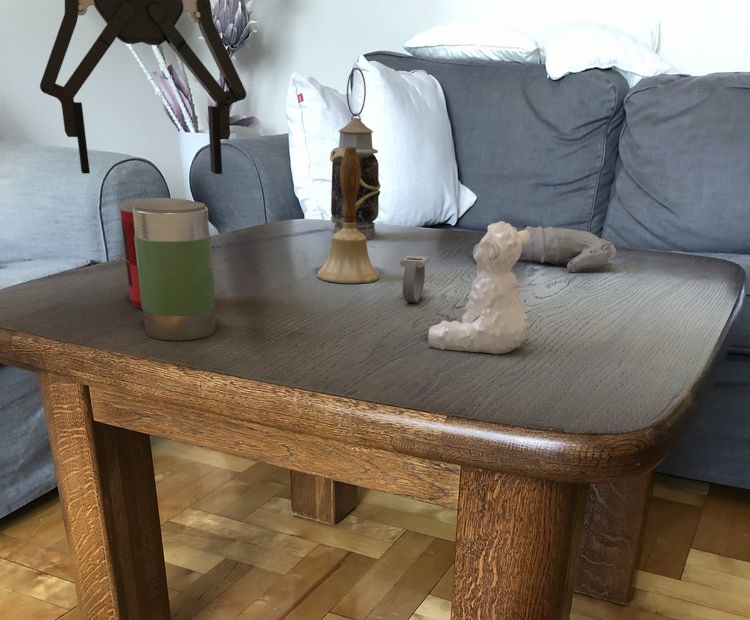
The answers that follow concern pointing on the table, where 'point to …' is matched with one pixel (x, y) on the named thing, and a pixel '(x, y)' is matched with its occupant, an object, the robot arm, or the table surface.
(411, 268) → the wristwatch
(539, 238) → the seahorse
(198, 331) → the tin can
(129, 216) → the canned food
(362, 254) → the hand bell
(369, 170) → the lantern
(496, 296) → the seated beast figurine
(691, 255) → the table surface
